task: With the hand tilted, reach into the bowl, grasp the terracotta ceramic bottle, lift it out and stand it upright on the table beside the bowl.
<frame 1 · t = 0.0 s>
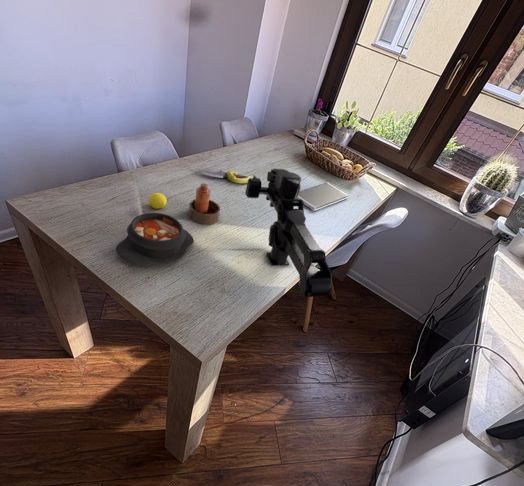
hand: (265, 177, 129), 17 cm above the table, tool horizontal, fingers open, 9 cm apart
bowl: (203, 217, 132), on the table
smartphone: (320, 198, 165), on the table
knife: (224, 178, 157), on the table
lemon: (157, 208, 130), on the table
casserole: (156, 249, 114), on the table
bottle: (200, 214, 132), resting on bowl
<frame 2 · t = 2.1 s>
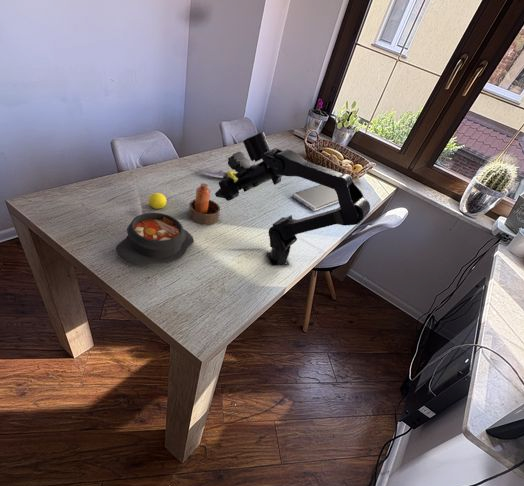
hand: (224, 190, 121), 14 cm above the table, tool tilted 45°, fingers open, 9 cm apart
nothing on the table moved.
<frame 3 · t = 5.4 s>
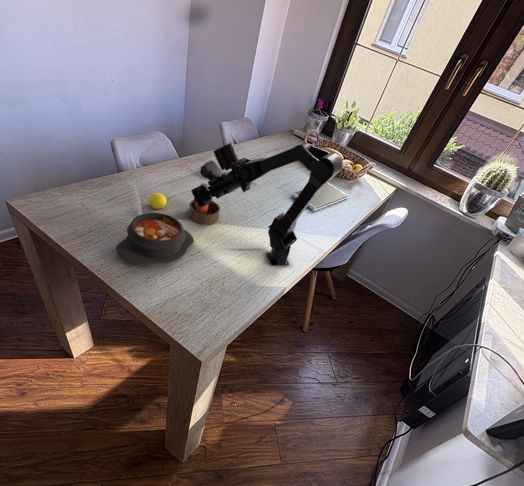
hand: (199, 197, 128), 7 cm above the table, tool tilted 45°, fingers closed on bottle, 5 cm apart
bottle: (200, 214, 132), point 1 cm above the table, touching bowl, gripper
everything else where it was.
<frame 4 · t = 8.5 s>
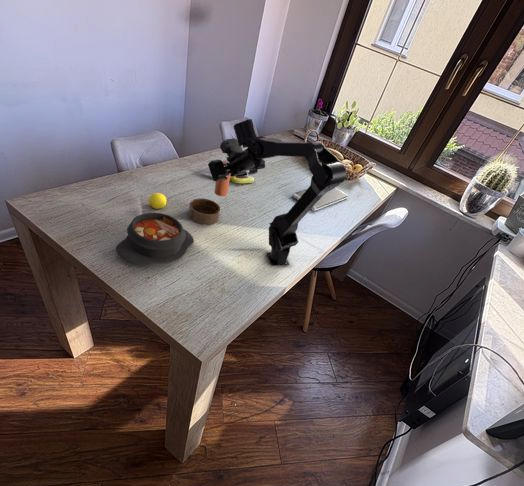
hand: (221, 175, 130), 13 cm above the table, tool tilted 45°, fingers closed on bottle, 5 cm apart
bottle: (220, 193, 133), point 7 cm above the table, touching gripper
everything else where it was.
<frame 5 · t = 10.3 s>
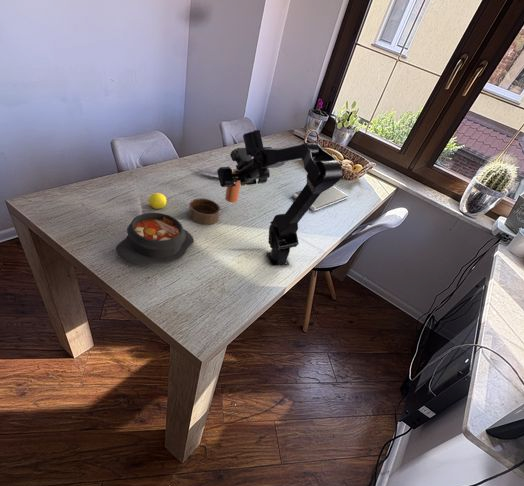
hand: (232, 182, 135), 9 cm above the table, tool tilted 45°, fingers closed on bottle, 5 cm apart
bottle: (231, 199, 139), point 3 cm above the table, touching gripper
everything else where it was.
when the fingers open (6 cm above the table, at t = 11.7 s): bottle stays where it is, on the table.
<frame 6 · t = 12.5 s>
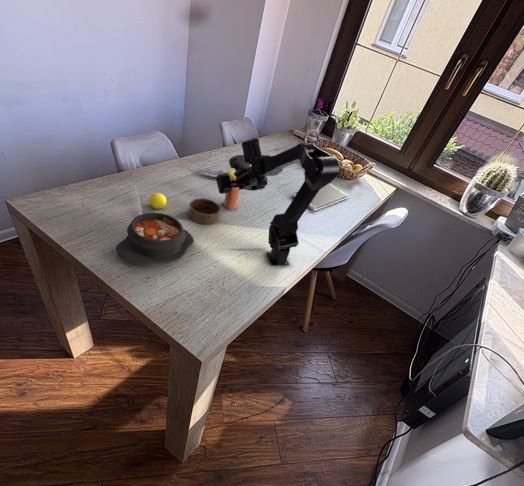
hand: (230, 188, 137), 7 cm above the table, tool tilted 45°, fingers open, 9 cm apart
bottle: (229, 206, 141), on the table
everything else where it was.
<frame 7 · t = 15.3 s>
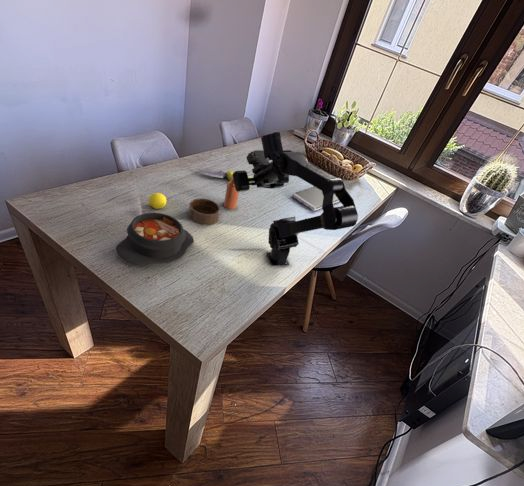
hand: (246, 186, 128), 13 cm above the table, tool tilted 45°, fingers open, 9 cm apart
nothing on the table moved.
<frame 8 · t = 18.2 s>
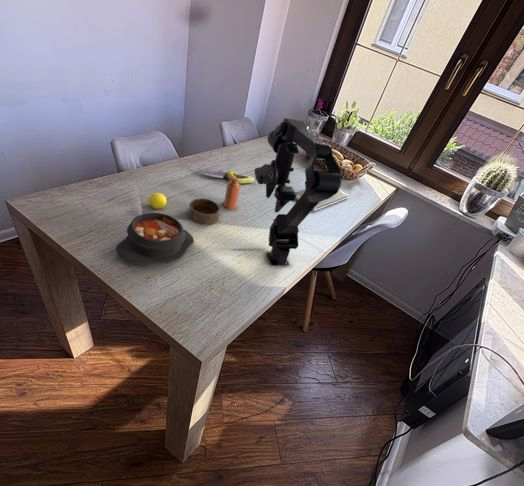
hand: (271, 204, 125), 12 cm above the table, tool pointing down, fingers open, 9 cm apart
nothing on the table moved.
at the end: bottle inside the target area (0.4 cm from its centre), on the table; bottle tilted 0°; bottle touching table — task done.
